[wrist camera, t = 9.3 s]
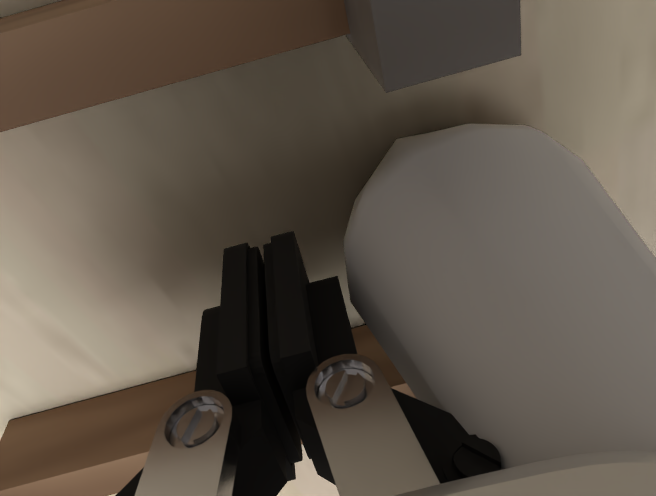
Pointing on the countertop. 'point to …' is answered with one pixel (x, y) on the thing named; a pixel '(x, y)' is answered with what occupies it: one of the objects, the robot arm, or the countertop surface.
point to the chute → (174, 66)
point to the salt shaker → (509, 291)
